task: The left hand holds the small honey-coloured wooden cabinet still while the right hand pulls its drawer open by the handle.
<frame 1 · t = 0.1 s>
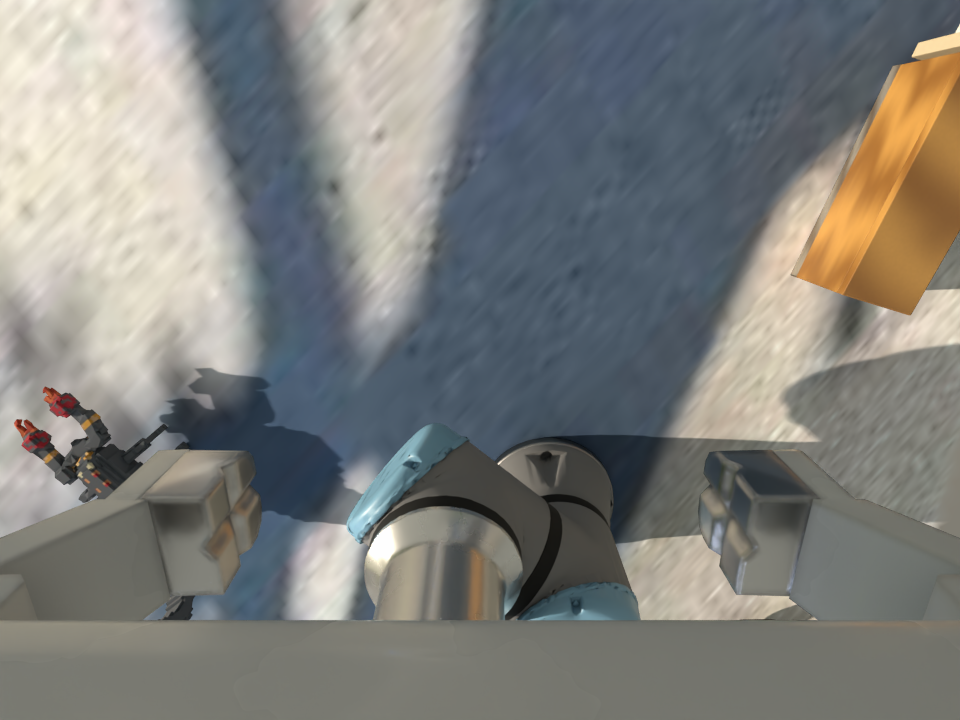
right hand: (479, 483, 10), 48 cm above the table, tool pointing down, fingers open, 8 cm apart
drawer: (933, 130, 48), point 4 cm above the table, slide at 0.8 cm
cabinet: (870, 187, 54), on the table
toy: (144, 465, 65), on the table
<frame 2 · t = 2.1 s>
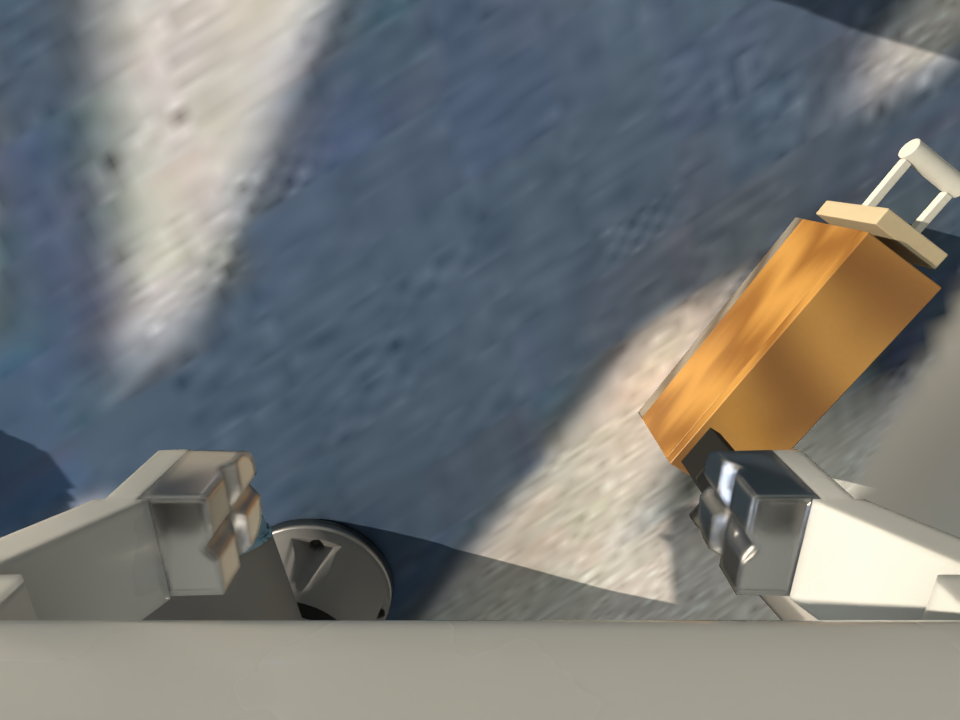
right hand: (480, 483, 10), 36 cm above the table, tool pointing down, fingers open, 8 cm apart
drawer: (815, 304, 41), point 4 cm above the table, slide at 0.8 cm
cabinet: (743, 341, 47), on the table
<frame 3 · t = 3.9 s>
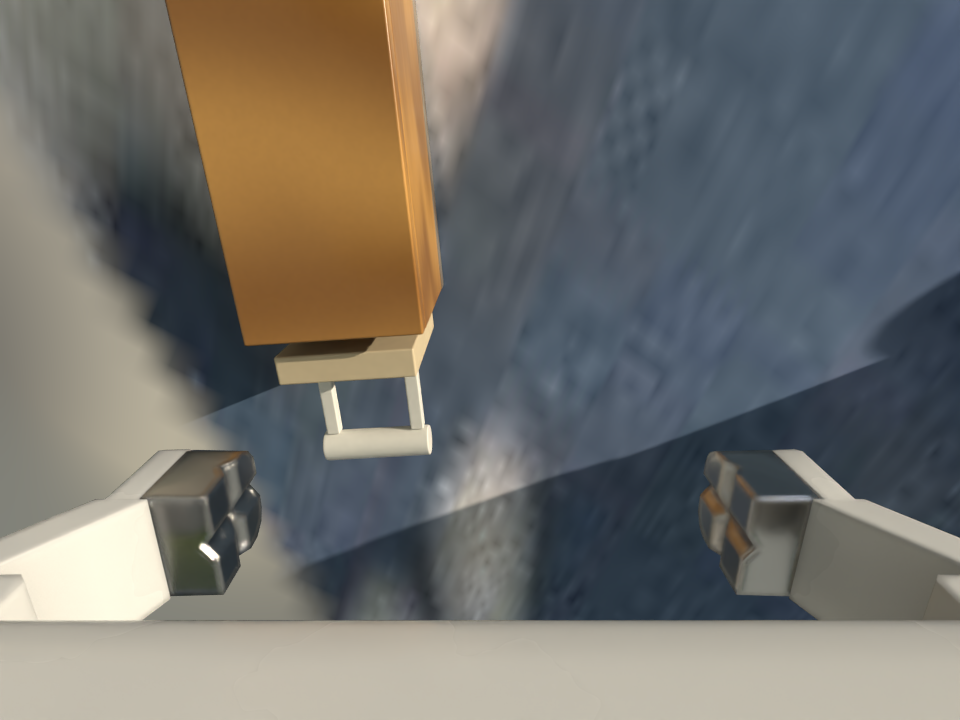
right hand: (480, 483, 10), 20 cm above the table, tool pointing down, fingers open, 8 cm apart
drawer: (342, 200, 23), point 4 cm above the table, slide at 0.8 cm
cabinet: (348, 76, 26), on the table, touching left hand
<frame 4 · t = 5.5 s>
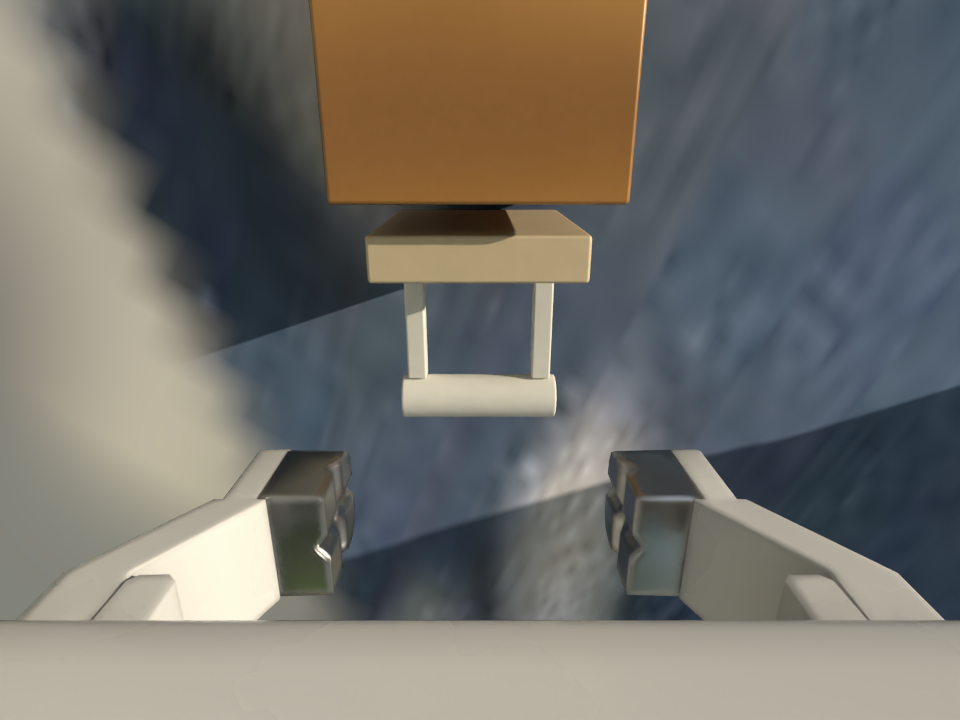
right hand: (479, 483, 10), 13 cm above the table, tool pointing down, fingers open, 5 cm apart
drawer: (478, 6, 15), point 4 cm above the table, slide at 0.8 cm
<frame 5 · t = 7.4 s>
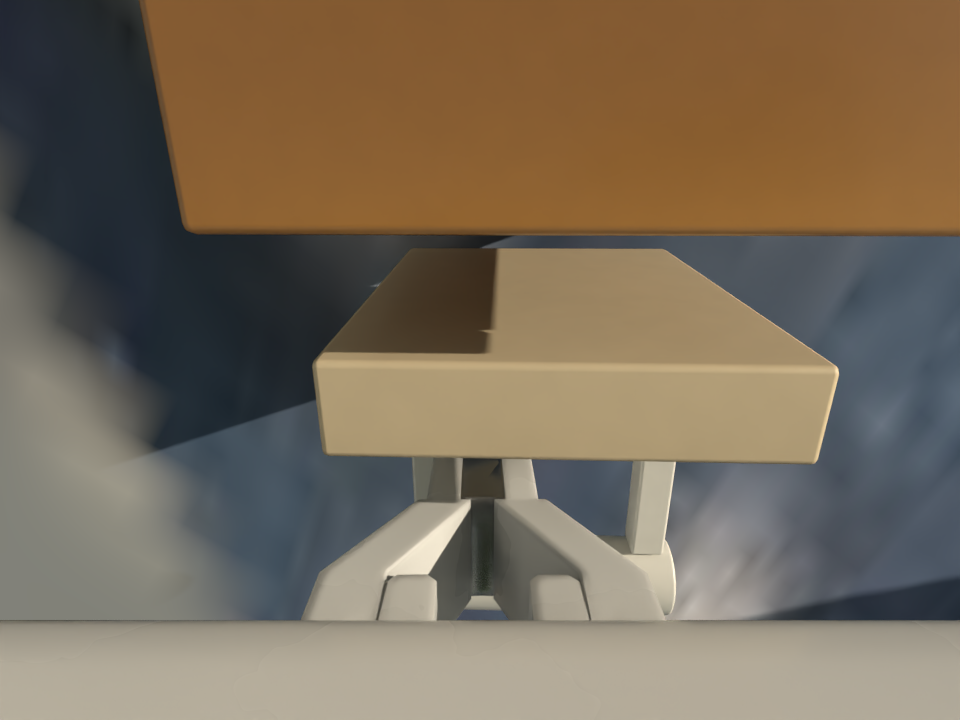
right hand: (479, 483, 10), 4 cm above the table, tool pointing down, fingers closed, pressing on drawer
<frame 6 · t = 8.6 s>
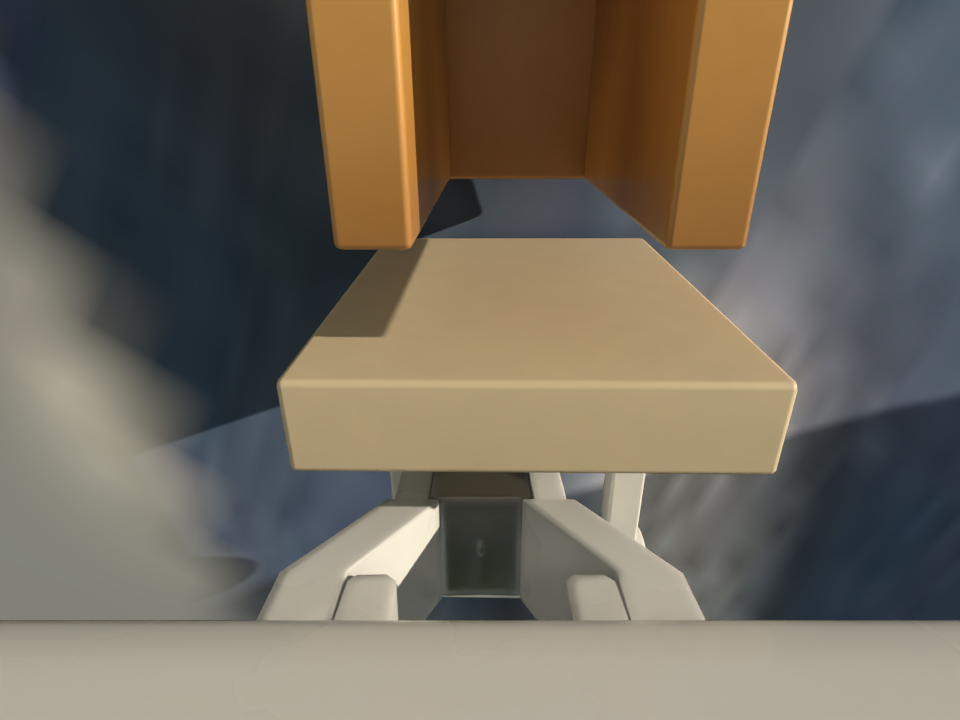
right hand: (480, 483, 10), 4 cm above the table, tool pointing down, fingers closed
when the left hand's fingers open (3 cm above the table, at t = 9.9 s): cabinet stays where it is, on the table.
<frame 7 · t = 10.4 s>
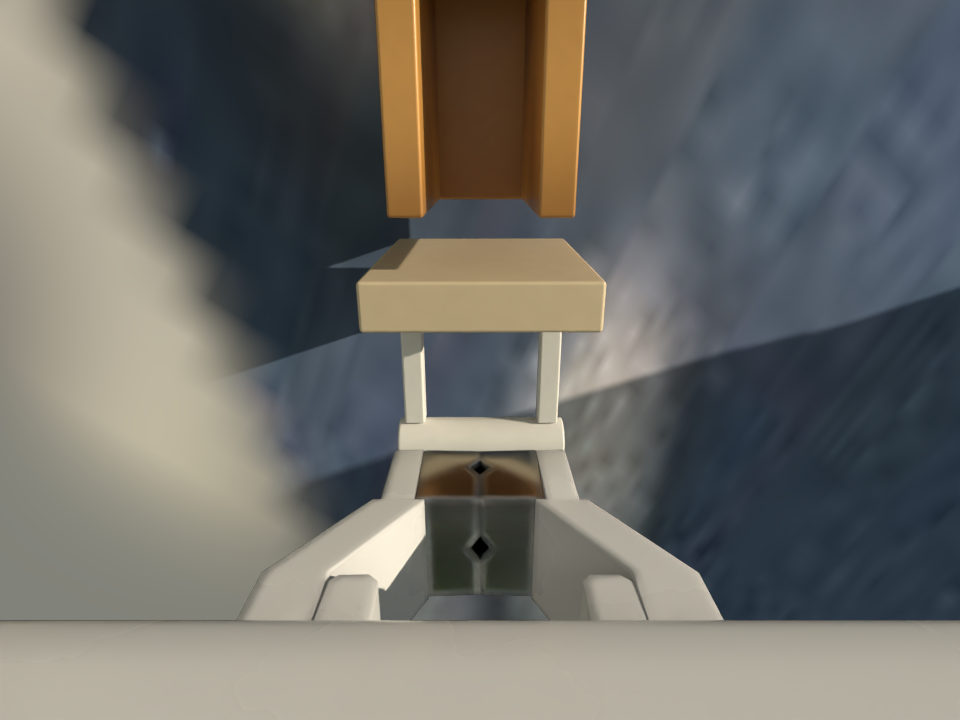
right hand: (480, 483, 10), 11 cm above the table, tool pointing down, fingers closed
drawer: (480, 27, 14), point 4 cm above the table, slide at 7.4 cm
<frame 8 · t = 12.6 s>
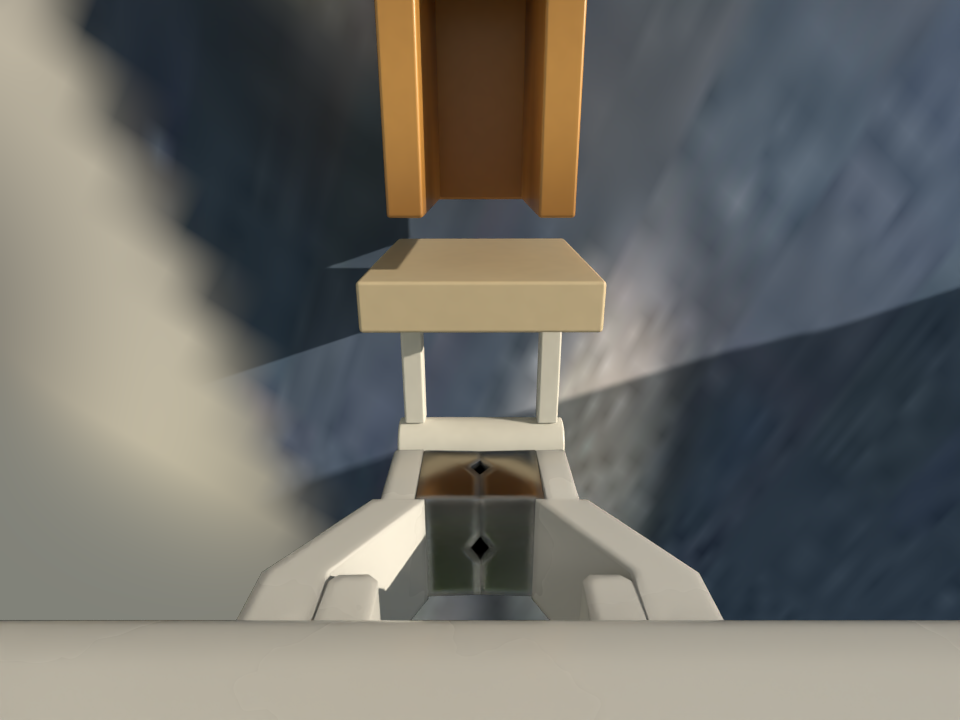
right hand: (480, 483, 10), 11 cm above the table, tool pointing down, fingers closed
drawer: (480, 27, 14), point 4 cm above the table, slide at 7.4 cm
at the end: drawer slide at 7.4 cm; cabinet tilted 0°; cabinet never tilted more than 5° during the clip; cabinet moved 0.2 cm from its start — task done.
